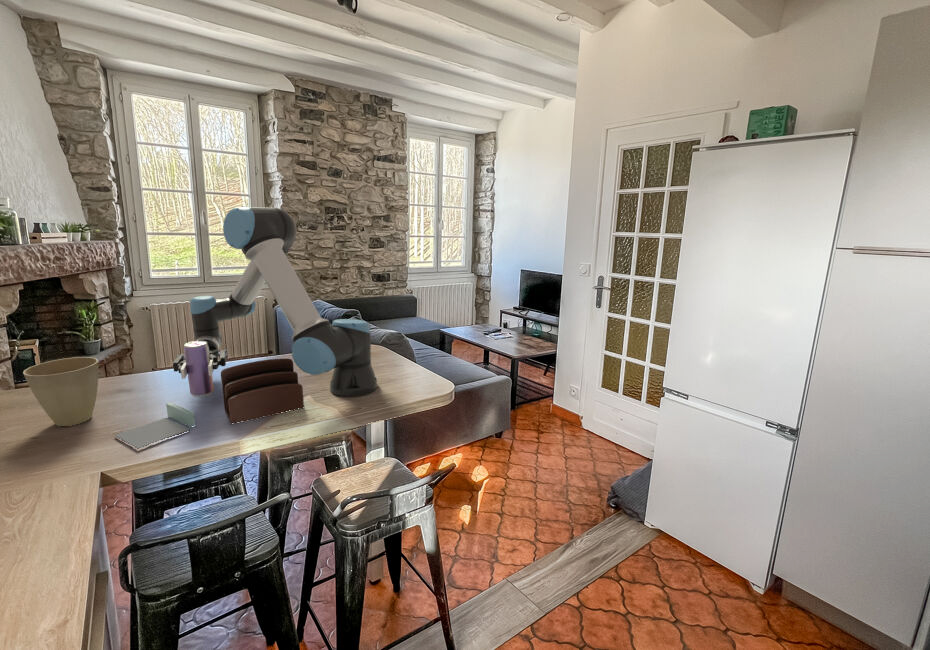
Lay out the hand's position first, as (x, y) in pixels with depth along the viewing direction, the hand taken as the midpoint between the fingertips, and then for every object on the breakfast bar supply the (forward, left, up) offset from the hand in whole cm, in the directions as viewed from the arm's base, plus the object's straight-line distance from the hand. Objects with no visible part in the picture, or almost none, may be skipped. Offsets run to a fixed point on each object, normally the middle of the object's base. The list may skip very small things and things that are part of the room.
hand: (196, 372), depth 124 cm
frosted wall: (+1, +5, -13) cm, 14 cm away
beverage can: (+4, -3, -8) cm, 10 cm away
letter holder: (-11, -12, -13) cm, 21 cm away
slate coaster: (-1, +13, -13) cm, 18 cm away
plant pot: (+25, +21, -13) cm, 35 cm away
